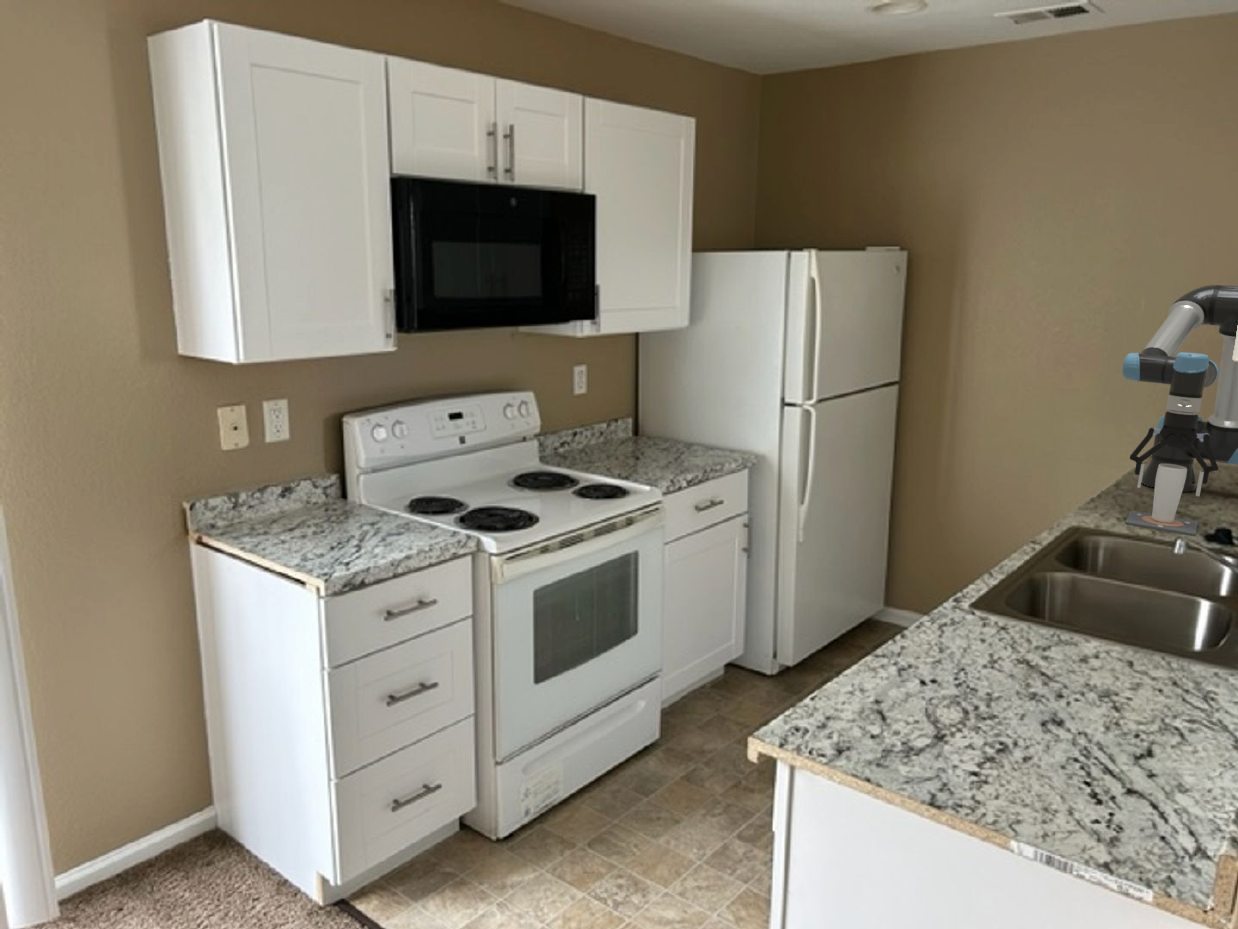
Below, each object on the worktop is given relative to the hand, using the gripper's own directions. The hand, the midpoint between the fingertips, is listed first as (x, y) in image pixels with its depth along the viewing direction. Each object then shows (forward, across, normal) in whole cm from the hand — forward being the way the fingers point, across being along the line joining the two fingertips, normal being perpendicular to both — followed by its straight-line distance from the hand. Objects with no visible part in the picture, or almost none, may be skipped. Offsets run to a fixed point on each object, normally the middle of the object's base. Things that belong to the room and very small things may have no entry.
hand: (1167, 491), depth 247 cm
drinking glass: (+8, 0, 0) cm, 8 cm away
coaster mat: (+9, 0, 0) cm, 9 cm away
